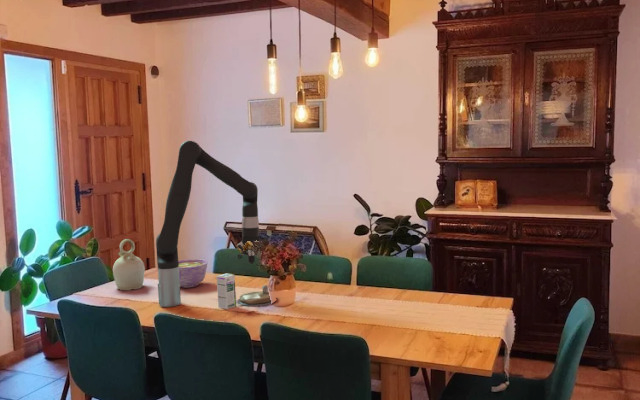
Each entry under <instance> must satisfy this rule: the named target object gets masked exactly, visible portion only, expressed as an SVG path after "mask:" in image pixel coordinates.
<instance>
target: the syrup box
mask: <svg viewBox="0 0 640 400" xmlns="http://www.w3.org/2000/svg"><path fill="white" fill-rule="evenodd" d="M216 289H217V304H218V305H217V307H218V308H219V309H223V310H229V309H232V308H236V307H237V295H236V279H235V274H234V273H223V274H220V275H217V276H216Z"/></svg>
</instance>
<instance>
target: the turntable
mask: <svg viewBox="0 0 640 400" xmlns="http://www.w3.org/2000/svg"><path fill="white" fill-rule="evenodd" d="M268 287H269V286H268V285H267V284H264V285H262V291H251V292H247V293H243V294H241V295H240V296H239V299H240V302H242V303H246V304H262V303H268V302H271V300H270V296H269V289H268Z"/></svg>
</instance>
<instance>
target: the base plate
mask: <svg viewBox="0 0 640 400" xmlns="http://www.w3.org/2000/svg"><path fill="white" fill-rule="evenodd" d="M237 304H238V305H237V306H238V307H242V306H244V307H263V306H269V304H270V305H272V304H271V302H268V303H262V304H246V303H242V302H240V298H238V299H237Z"/></svg>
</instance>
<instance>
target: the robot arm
mask: <svg viewBox="0 0 640 400" xmlns="http://www.w3.org/2000/svg"><path fill="white" fill-rule="evenodd" d="M196 165H197V166H200V167H201V168H203V169H204V170H206V171H208V172H209V173H210V174H211V175H212V176H213V177H215V178H216V179H218V180H219V181H221V182H222V183H224V184H225V185H227V186H229V187H230V188H232V189H233V190H235V191H236V192H237V193H238V194H239V195H241V196H242V212H241V215H242V218H241V219H242V220H241V228H242V229H241V231H242V233H241V234H242V235H241V236H242V238H241V241H240V242H239V243H237V244H236V246H237V248H239V249H240V251H241V252H242V254H244V255H245V256H247V262H248V263H249V265H252V264H254V263H255V256H256V255H257V254H255V253H254V252H253V251H252V250H248V251H247V250H245V251H246V252H245V251H243V249H244V245H245V243H246V242H247V241H251V242H253V241H256V240H257V241H261V238H260V231H259V230H260V229H259V228H260V227H259V223H260V221H259V211H258V210H259V207H258V186H257V185H256V184H255V182H253V181H249V180H247V179H245V178H244V177H243V176H242V175H241V174H240V173H238V172H237V171H235V170H234V169H233V168H232V167H229V166H228V165H226V164H224V163H223V162H221V161H219V160H218V159H216V158H214V157H213V156H211V155H210V154H209V153H208V152H206V151H205V150H204V149H203V148H202V147H201V146H200V145H199V143H197V142H196V141H193V140H186V141H184V142H182V143H181V145H180V146H179V149H178V157H177V164H176V170H175V172H174V175H173V178H172V181H171V183H170V188H169V190H168V194H167V198H166V204H165V210H164V211H165V213H164V220H163V225H162V227H161V230H160V233H159V234H158V235H157V236H156V239H155V246H156V247H155V248H156V261H157V277H158V283H157V293H158V294H157V295H158V305H159V306H160V307H161V308H167V307H168V308H170V307H171V308H172V307H176V306H180V305H181V303H182V299H181V298H182V297H181V286H180V279H179V254H178V253H179V252H178V245H179V235H180V229H181V225H182V221H183V219H184V216H185V213H186V210H187V207H188V204H189V199H190V196H191V192H192V191H191V190H192V180H193V172H194V169H195V166H196Z"/></svg>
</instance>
